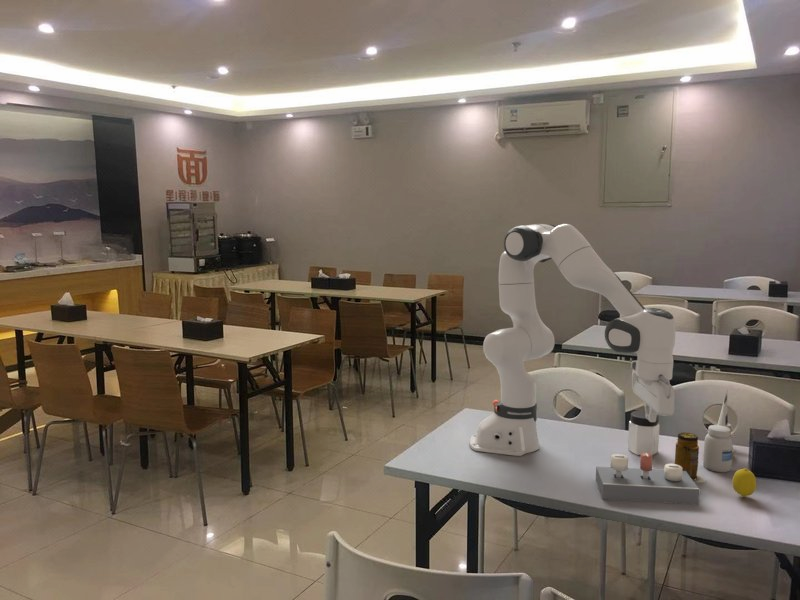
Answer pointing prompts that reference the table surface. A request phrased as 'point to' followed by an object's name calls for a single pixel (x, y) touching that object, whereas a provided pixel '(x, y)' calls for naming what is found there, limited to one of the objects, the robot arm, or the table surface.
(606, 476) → the mount
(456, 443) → the table surface
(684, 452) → the condiment
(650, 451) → the jar
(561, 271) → the robot arm
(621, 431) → the table surface
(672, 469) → the knob
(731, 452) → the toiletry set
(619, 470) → the knob
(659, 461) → the table surface
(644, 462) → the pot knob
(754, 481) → the lemon
